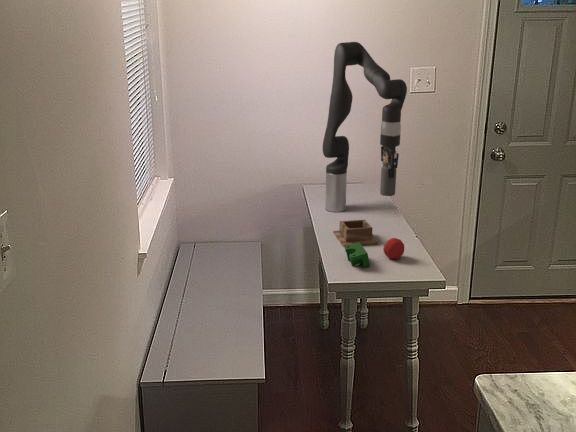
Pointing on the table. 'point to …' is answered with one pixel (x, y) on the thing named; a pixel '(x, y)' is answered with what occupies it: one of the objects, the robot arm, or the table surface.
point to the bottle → (387, 180)
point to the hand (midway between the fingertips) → (388, 175)
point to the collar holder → (355, 233)
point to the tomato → (394, 248)
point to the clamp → (357, 254)
